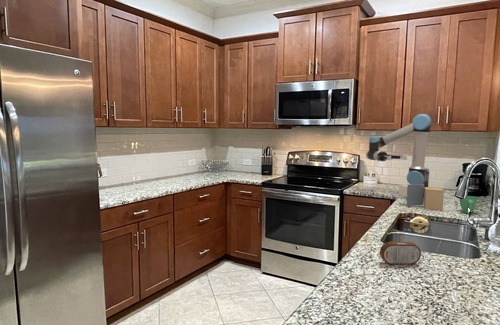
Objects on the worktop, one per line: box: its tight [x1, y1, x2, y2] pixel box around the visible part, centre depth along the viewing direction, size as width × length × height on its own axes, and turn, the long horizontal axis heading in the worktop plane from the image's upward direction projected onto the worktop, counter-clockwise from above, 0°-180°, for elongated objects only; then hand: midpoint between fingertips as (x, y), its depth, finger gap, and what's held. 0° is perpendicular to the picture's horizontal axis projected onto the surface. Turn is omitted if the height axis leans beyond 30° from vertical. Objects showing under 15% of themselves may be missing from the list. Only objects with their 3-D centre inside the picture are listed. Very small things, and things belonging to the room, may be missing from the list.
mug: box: [459, 195, 478, 214], centre depth 209 cm, size 15×10×10 cm
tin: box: [379, 241, 422, 266], centre depth 126 cm, size 15×3×8 cm, turn 90°
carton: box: [422, 186, 445, 212], centre depth 221 cm, size 10×10×14 cm
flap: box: [398, 183, 424, 207], centre depth 232 cm, size 12×13×14 cm
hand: (398, 158), depth 243 cm, fingers open, 13 cm apart
